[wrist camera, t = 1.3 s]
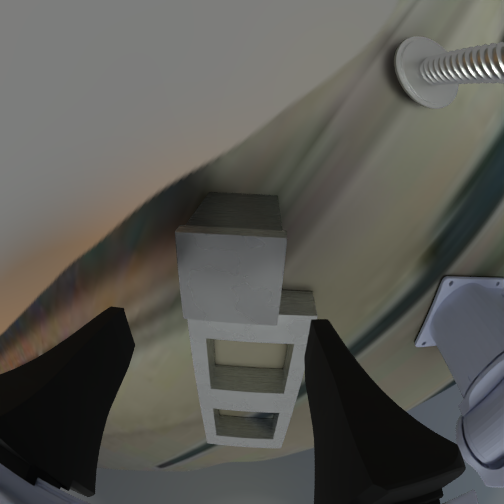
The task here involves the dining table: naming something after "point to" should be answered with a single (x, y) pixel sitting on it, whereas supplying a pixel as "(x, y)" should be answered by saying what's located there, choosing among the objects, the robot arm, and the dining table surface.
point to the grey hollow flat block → (252, 375)
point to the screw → (444, 69)
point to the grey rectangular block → (232, 259)
